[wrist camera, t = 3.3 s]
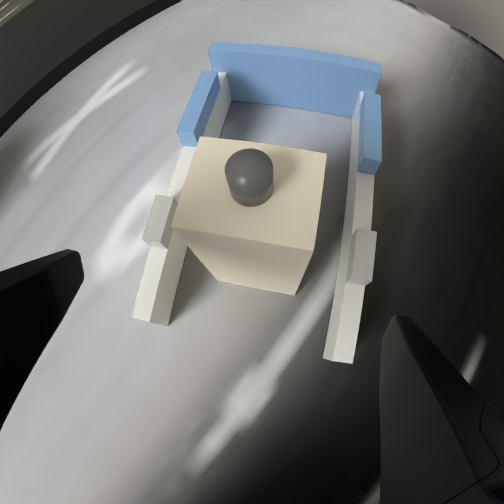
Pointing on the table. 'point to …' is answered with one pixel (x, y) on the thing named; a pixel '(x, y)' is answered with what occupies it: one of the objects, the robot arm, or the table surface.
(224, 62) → the sled frame
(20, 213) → the table surface
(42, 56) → the thin dark grey tray
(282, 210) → the beige drawer with knob
